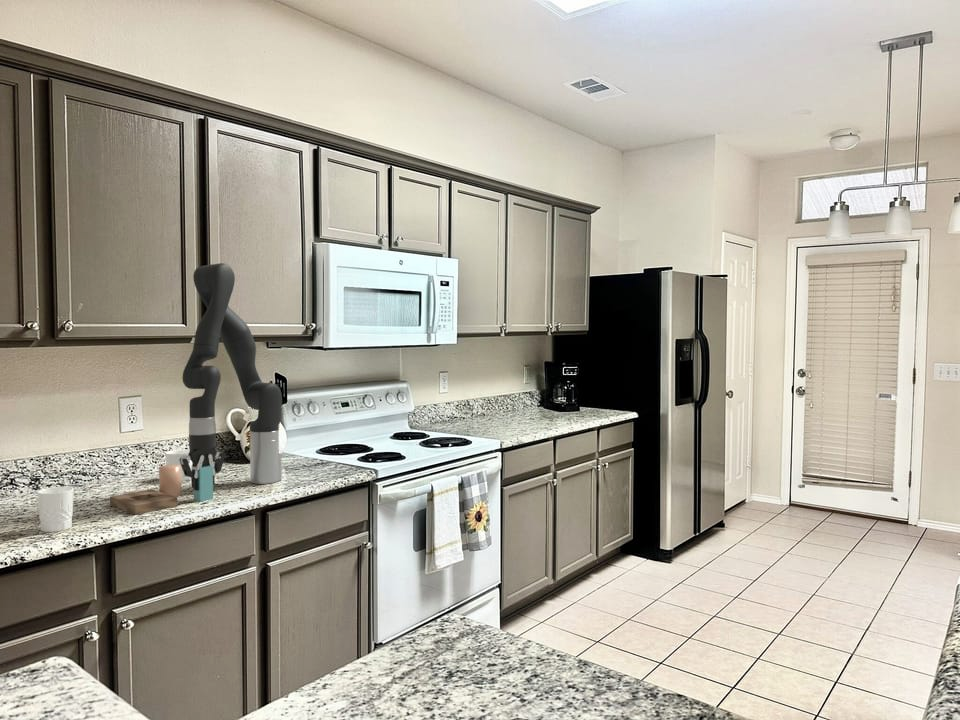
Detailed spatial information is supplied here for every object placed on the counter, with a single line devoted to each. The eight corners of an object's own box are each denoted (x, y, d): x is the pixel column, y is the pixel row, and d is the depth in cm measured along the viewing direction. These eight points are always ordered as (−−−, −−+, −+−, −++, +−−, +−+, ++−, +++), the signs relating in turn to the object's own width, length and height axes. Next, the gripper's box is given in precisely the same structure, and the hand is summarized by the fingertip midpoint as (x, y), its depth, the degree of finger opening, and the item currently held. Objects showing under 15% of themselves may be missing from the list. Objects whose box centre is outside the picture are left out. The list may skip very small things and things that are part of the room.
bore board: (151, 497, 210) (151, 489, 209) (177, 506, 200) (177, 497, 199) (109, 505, 200) (109, 496, 200) (135, 514, 190) (135, 505, 190)
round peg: (175, 492, 217) (174, 463, 216) (185, 495, 213) (185, 466, 212) (155, 495, 212) (155, 466, 211) (165, 499, 208) (165, 469, 207)
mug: (161, 479, 235) (160, 452, 235) (186, 474, 242) (185, 448, 242) (179, 484, 228) (178, 456, 227) (204, 479, 235) (204, 452, 234)
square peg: (206, 496, 211) (205, 464, 210) (213, 499, 208) (212, 466, 208) (193, 499, 207) (193, 466, 207) (200, 501, 205) (200, 468, 205)
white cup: (76, 522, 182) (75, 485, 181) (72, 531, 175) (71, 491, 174) (41, 526, 179) (40, 487, 178) (35, 534, 171) (34, 494, 171)
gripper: (217, 428, 215) (218, 483, 216) (173, 433, 204) (173, 491, 204) (230, 430, 210) (231, 486, 211) (186, 436, 199) (186, 495, 200)
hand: (203, 488), depth 208 cm, fingers closed on square peg, 4 cm apart
